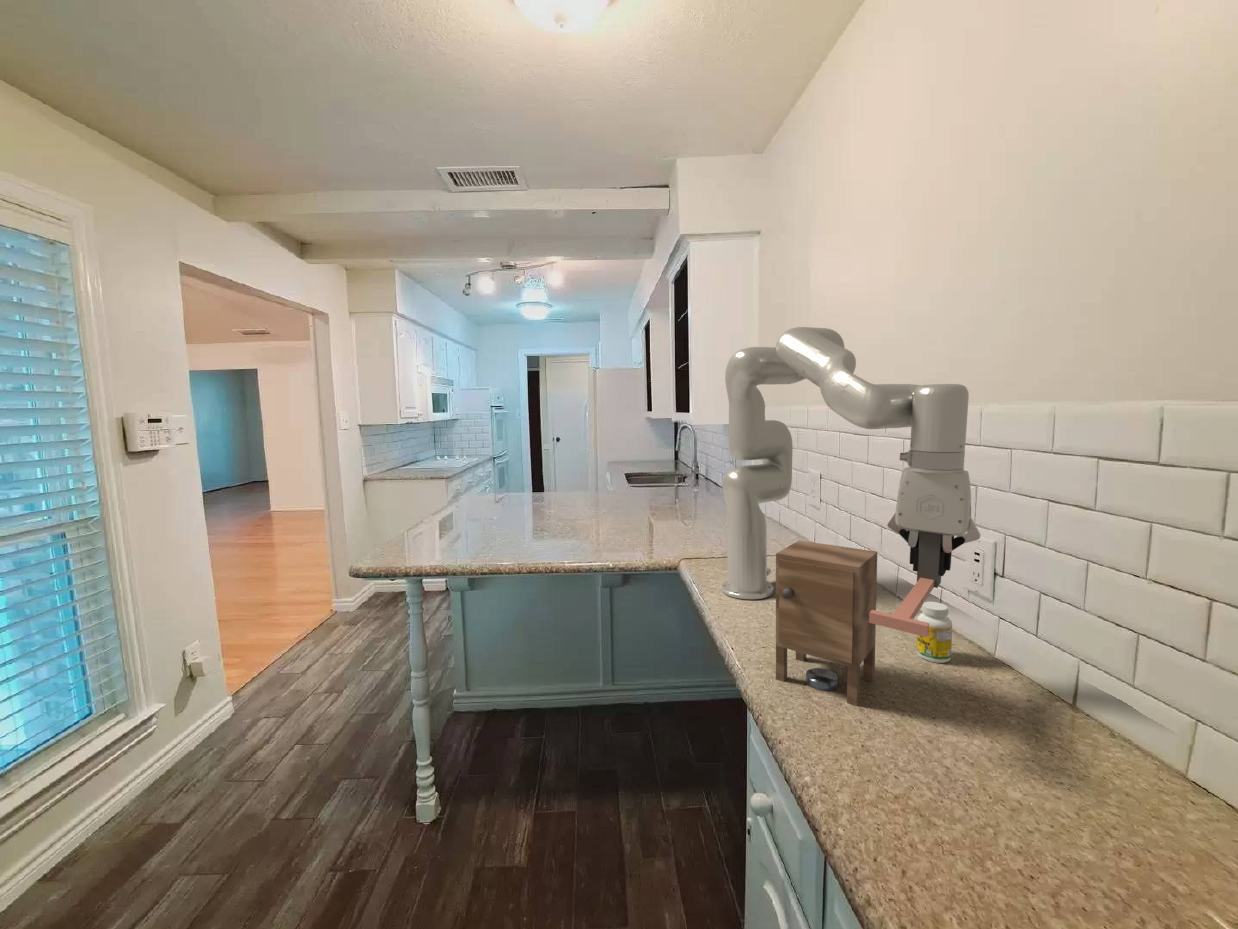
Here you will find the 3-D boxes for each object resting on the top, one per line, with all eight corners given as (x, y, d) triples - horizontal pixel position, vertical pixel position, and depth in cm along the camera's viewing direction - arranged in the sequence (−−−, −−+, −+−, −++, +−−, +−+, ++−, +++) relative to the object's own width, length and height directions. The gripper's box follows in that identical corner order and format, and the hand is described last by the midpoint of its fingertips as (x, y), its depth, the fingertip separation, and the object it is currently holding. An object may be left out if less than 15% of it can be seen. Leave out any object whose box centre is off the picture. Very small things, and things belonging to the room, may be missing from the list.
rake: (907, 576, 89) (910, 519, 87) (954, 585, 84) (959, 525, 83) (869, 622, 71) (872, 553, 70) (926, 637, 67) (931, 563, 65)
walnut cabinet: (798, 656, 95) (799, 540, 92) (874, 678, 86) (877, 551, 84) (771, 682, 86) (771, 555, 84) (853, 710, 78) (855, 570, 75)
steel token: (812, 673, 89) (812, 665, 89) (842, 682, 86) (842, 674, 86) (801, 685, 86) (801, 677, 85) (832, 696, 82) (832, 687, 82)
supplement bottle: (957, 663, 91) (960, 610, 90) (928, 664, 90) (930, 612, 89) (937, 648, 96) (939, 599, 95) (910, 650, 96) (911, 600, 95)
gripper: (874, 460, 85) (869, 567, 87) (996, 468, 74) (987, 589, 77) (886, 456, 91) (881, 556, 93) (1001, 462, 80) (992, 575, 82)
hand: (929, 570), depth 85 cm, fingers closed on rake, 3 cm apart
